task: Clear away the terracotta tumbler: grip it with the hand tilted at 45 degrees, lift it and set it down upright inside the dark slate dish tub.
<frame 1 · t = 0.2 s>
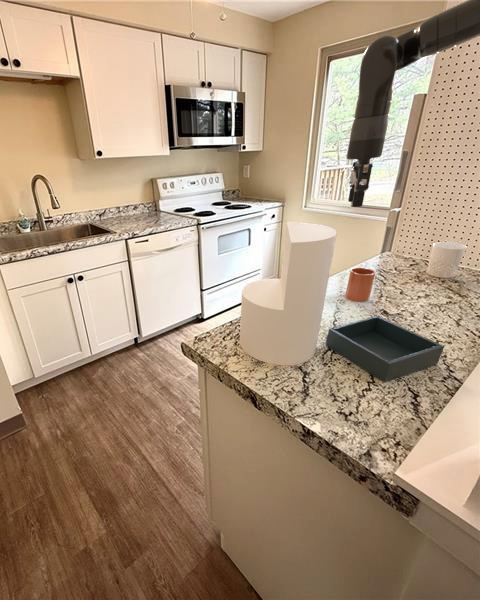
hand: (354, 204, 85), 28 cm above the countertop, tool pointing down, fingers open, 8 cm apart
white cup: (439, 274, 103), on the countertop
tub: (377, 354, 69), on the countertop
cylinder: (275, 344, 76), on the countertop
tumbler: (356, 297, 94), on the countertop
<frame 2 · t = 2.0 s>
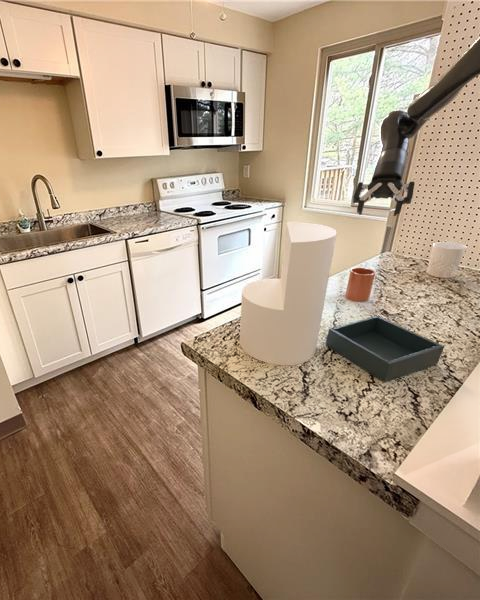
hand: (377, 213, 92), 23 cm above the countertop, tool tilted 45°, fingers open, 8 cm apart
nothing on the countertop moved.
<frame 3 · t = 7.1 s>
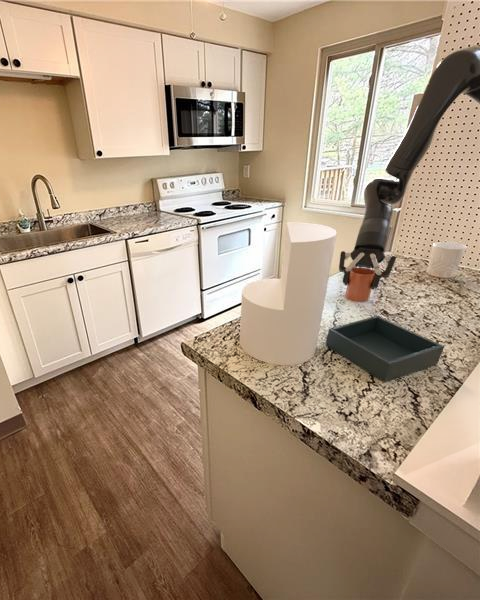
hand: (359, 286, 91), 4 cm above the countertop, tool tilted 45°, fingers closed on tumbler, 6 cm apart
tumbler: (356, 297, 94), on the countertop, touching gripper
everything else where it was.
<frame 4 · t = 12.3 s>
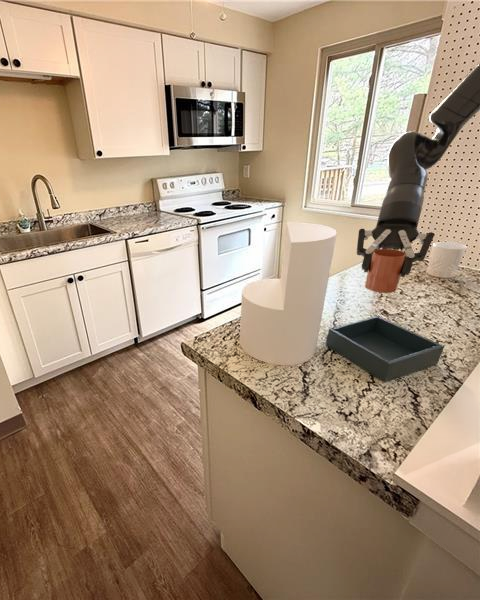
hand: (384, 272, 69), 16 cm above the countertop, tool tilted 45°, fingers closed on tumbler, 6 cm apart
tumbler: (380, 287, 72), point 12 cm above the countertop, touching gripper
everything else where it was.
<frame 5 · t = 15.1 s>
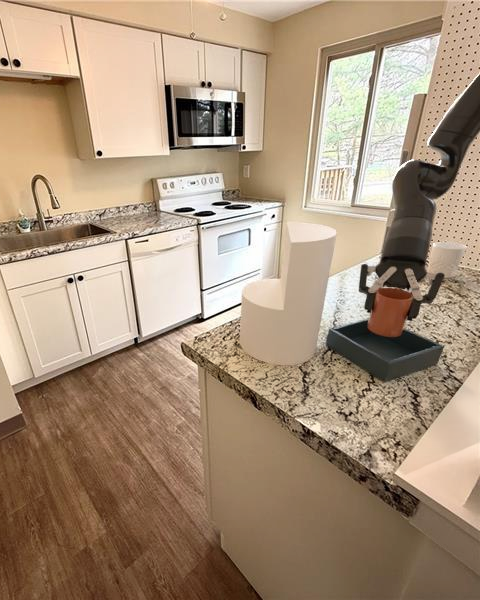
hand: (388, 315, 63), 11 cm above the countertop, tool tilted 45°, fingers closed on tumbler, 6 cm apart
tumbler: (384, 329, 66), point 6 cm above the countertop, touching gripper
everything else where it was.
when the fingers open (5 cm above the countertop, at t = 17.3 s): tumbler stays where it is, resting on tub.
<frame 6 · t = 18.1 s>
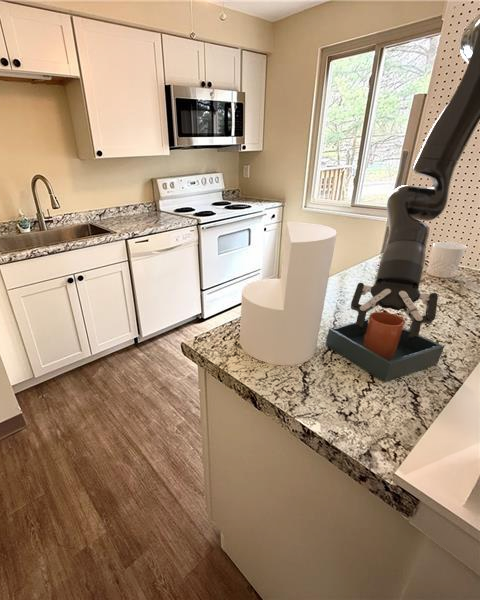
hand: (384, 333, 66), 6 cm above the countertop, tool tilted 45°, fingers open, 8 cm apart
tumbler: (377, 351, 69), point 1 cm above the countertop, touching tub
everything else where it was.
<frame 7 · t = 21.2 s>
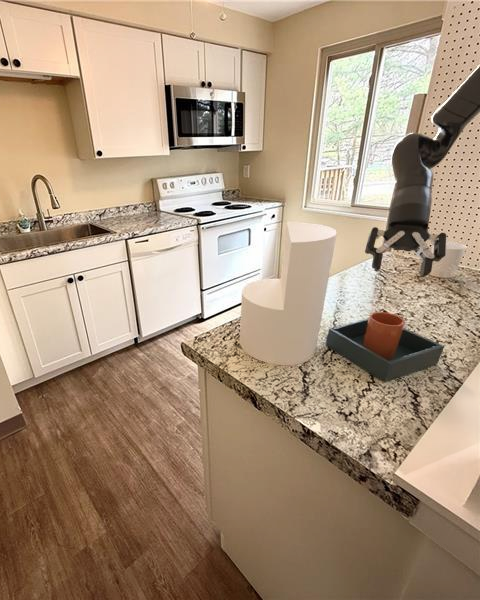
hand: (399, 273, 70), 15 cm above the countertop, tool tilted 45°, fingers open, 8 cm apart
nothing on the countertop moved.
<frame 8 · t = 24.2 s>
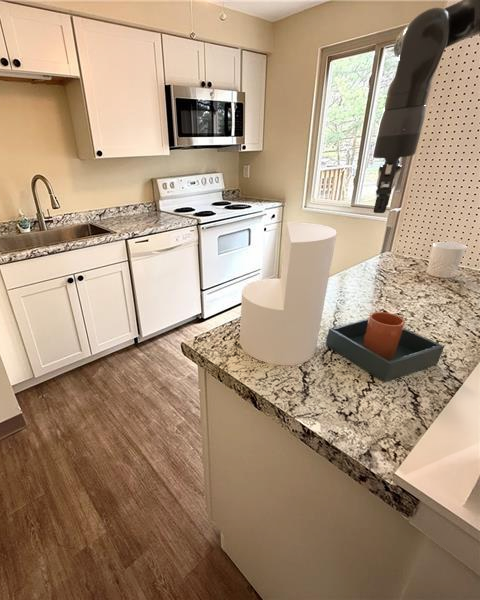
hand: (380, 209, 74), 28 cm above the countertop, tool pointing down, fingers open, 8 cm apart
nothing on the countertop moved.
at the end: tumbler inside the target area in the tub (0.1 cm from its centre), point 0.6 cm above the tub's base; tumbler tilted 0°; the gripper is holding nothing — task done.
